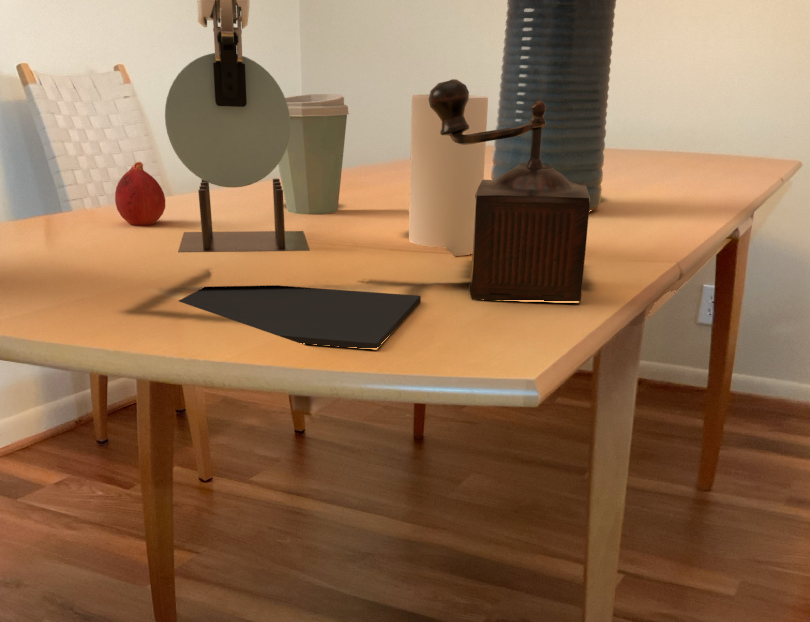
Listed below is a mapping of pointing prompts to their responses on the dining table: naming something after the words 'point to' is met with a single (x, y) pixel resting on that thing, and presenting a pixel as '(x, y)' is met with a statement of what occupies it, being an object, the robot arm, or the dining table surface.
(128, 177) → the pomegranate
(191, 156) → the plate
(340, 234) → the dining table surface
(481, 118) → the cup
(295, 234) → the rack
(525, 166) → the manual coffee grinder
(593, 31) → the vase
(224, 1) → the robot arm
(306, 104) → the disposable coffee cup
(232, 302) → the mat
